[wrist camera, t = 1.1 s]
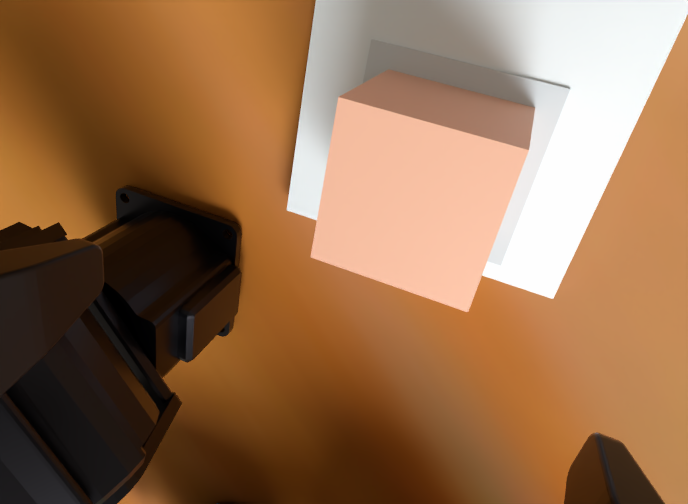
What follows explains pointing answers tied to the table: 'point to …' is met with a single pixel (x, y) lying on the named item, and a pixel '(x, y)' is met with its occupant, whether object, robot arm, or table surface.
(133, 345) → the robot arm
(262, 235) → the table surface
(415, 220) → the terracotta block
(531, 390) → the table surface
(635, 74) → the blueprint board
